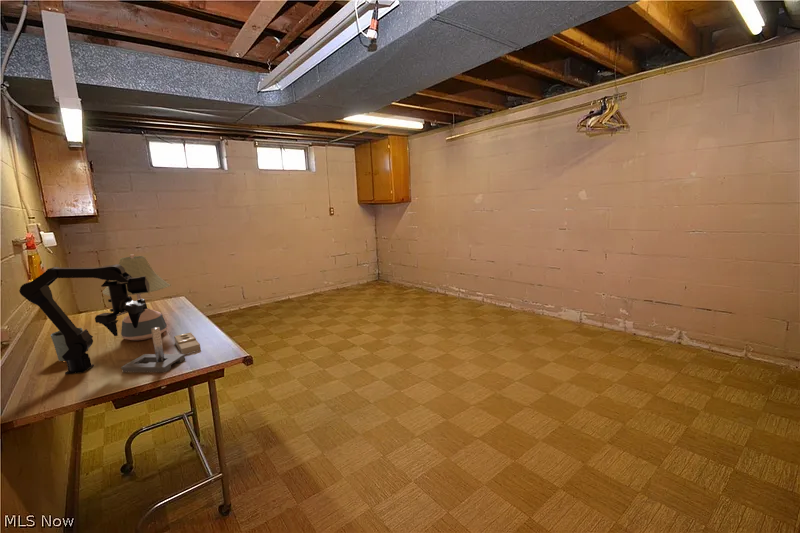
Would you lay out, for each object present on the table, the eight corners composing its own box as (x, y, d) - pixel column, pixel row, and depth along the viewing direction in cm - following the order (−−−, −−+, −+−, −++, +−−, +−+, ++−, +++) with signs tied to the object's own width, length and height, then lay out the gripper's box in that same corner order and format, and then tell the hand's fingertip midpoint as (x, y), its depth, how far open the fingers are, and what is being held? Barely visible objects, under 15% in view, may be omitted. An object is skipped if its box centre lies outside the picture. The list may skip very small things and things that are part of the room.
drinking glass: (54, 364, 149) (48, 337, 146) (58, 356, 157) (53, 331, 154) (86, 358, 154) (80, 331, 152) (88, 350, 162) (83, 325, 160)
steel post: (151, 368, 142) (145, 330, 139) (158, 363, 147) (152, 326, 144) (164, 368, 142) (158, 330, 139) (170, 362, 147) (165, 326, 144)
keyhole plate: (121, 372, 139) (120, 367, 139) (145, 359, 151) (144, 354, 151) (165, 372, 138) (164, 367, 138) (185, 359, 150) (184, 354, 149)
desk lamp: (124, 350, 161) (107, 260, 153) (105, 338, 178) (89, 256, 170) (185, 333, 181) (173, 252, 173) (163, 323, 198) (151, 249, 190)
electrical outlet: (181, 346, 154) (173, 336, 167) (182, 355, 154) (175, 344, 168) (199, 342, 158) (190, 332, 172) (200, 350, 159) (192, 339, 172)
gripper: (115, 302, 134) (123, 340, 137) (155, 289, 152) (161, 324, 155) (90, 302, 136) (98, 340, 139) (132, 289, 154) (138, 324, 157)
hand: (126, 331), depth 147 cm, fingers open, 9 cm apart
